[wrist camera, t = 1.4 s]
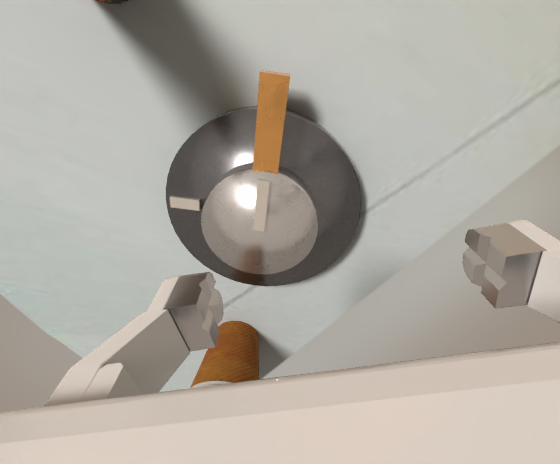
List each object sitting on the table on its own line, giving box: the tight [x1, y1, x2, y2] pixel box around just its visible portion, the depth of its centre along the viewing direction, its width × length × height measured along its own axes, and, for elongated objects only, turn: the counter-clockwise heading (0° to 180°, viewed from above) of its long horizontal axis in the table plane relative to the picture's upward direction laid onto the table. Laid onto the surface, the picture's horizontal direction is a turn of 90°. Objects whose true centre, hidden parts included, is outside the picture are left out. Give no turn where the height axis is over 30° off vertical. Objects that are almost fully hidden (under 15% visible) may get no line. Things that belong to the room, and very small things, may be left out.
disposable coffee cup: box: [191, 321, 259, 388], centre depth 39 cm, size 10×10×12 cm
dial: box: [201, 70, 318, 274], centre depth 27 cm, size 18×11×3 cm, turn 173°
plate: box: [166, 106, 361, 286], centre depth 32 cm, size 20×20×2 cm
